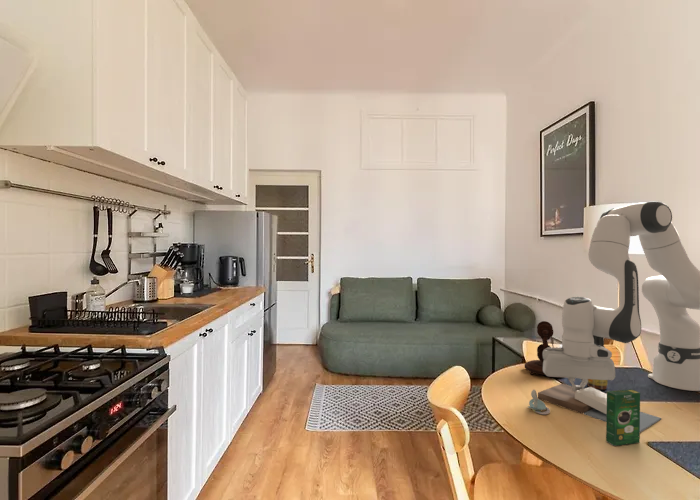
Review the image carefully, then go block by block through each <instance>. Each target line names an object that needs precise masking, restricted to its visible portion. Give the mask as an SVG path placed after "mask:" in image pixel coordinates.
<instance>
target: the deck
mask: <svg viewBox="0 0 700 500" xmlns="http://www.w3.org/2000/svg"><path fill="white" fill-rule="evenodd" d="M537 397H538V399H539V400H541V401H543V402H547V403H549V404H552V405H556V406H559V407H562V408H564V409H567V410H570V411H573V412H576V413H580V414H582V415H584V413H585V412H587V411H589V410H591V409H593V407H591V406H589V405H587V404H585V403H583V402H581V401H579V400H577V399H575V392H573V391H572V385H569V384H566V383H565V384H564V383H559V384H557V385H554V386H552V387H549V388H546V389H544V390H540V391H539V392H537Z"/></svg>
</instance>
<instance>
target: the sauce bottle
mask: <svg viewBox="0 0 700 500" xmlns="http://www.w3.org/2000/svg"><path fill="white" fill-rule="evenodd" d="M593 338H594V344H596V345H600V346H602V347H605V340H604V339H605V338H603V337H598V336H595V335H593ZM608 381H609V380H597V379H588V383H587V384H586V385H587V386H588V387H592V388H595V389H597V390H600V391H601V390H602V391H603V390H604V391H605V390H606V389H607V388H608Z"/></svg>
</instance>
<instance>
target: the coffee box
mask: <svg viewBox="0 0 700 500" xmlns="http://www.w3.org/2000/svg"><path fill="white" fill-rule="evenodd" d="M606 394H607V418H606V422H605V423H606V424H605V427H606V428H605V431H606V432H605V442H606V443H608V444H610V445H611V446H614V447H616V446H623V445H624V446H625V445H633V444H638V443H640V439H641V436H640V435H641V434H640V412H641V392H639V391H637V390H634V389H631V388H630V389H629V388H628V389H619V390H607V391H606Z"/></svg>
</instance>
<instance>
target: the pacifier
mask: <svg viewBox="0 0 700 500" xmlns="http://www.w3.org/2000/svg"><path fill="white" fill-rule="evenodd" d="M530 395H531V398H532V399H530V400H529V402H528V404H529V406H527V408H529V409H531V411H532V412H533V413H537V414H539V415H542V416H543V415H545V416H546V415H548V414H550V412H551V409H550V408H549V407H547V406H546V404H545V401H543V400H540V399H538V392H537V391H536V389H532V390H531V393H530ZM544 410H546V411H544Z"/></svg>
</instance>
